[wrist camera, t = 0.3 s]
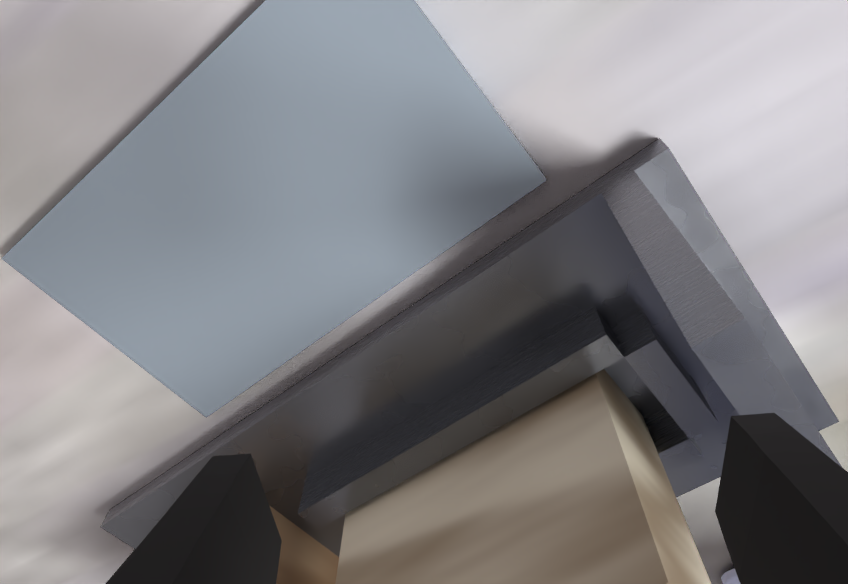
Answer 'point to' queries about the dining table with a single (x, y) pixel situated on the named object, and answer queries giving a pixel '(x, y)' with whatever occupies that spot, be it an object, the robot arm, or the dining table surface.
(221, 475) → the robot arm
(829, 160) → the dining table surface
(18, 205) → the dining table surface
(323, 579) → the offcuts
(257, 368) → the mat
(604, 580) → the block
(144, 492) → the rack
